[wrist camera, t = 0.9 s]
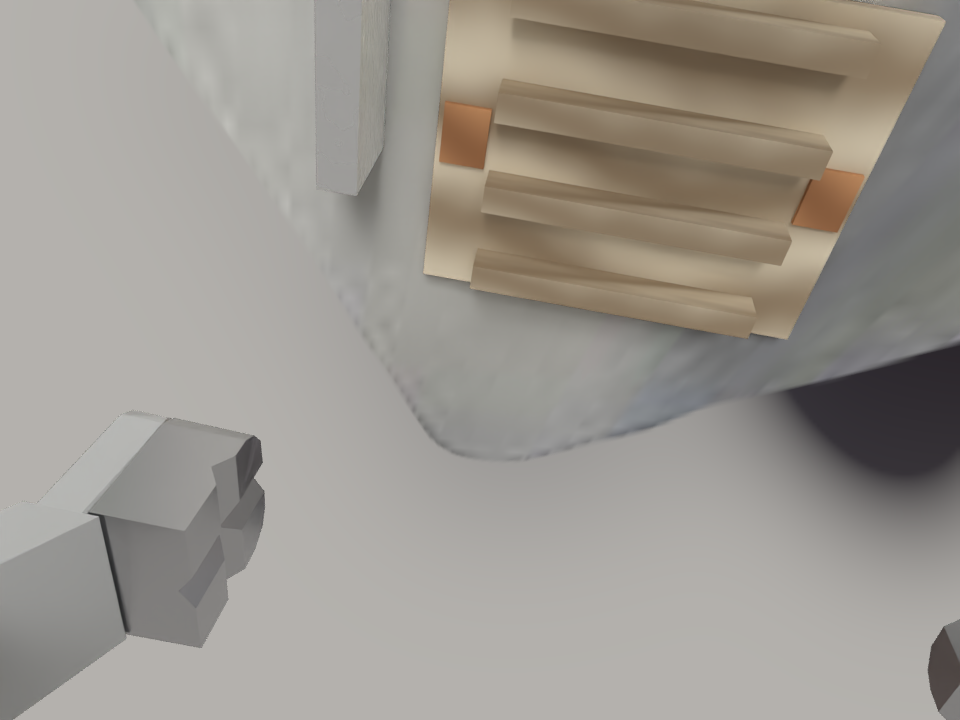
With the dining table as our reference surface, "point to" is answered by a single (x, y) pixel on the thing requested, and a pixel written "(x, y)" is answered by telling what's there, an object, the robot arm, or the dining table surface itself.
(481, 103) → the rack
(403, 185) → the dining table surface
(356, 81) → the blanking panel
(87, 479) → the robot arm
